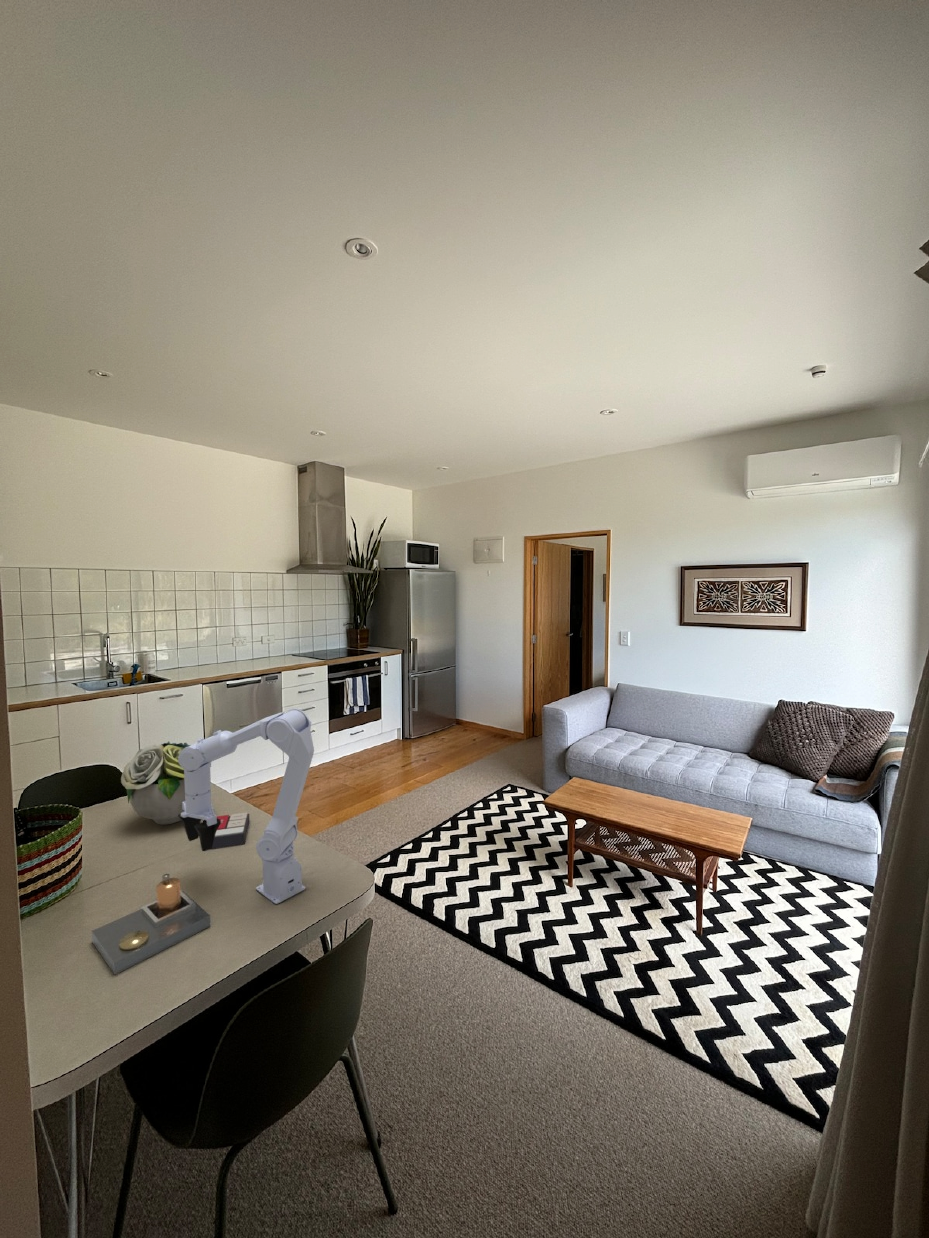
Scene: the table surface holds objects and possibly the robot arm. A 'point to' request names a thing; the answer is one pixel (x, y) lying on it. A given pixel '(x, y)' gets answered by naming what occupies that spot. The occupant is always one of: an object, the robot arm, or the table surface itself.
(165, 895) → the copper cylinder
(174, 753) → the flower arrangement
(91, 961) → the table surface
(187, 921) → the grey peg holder base
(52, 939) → the table surface
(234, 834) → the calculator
